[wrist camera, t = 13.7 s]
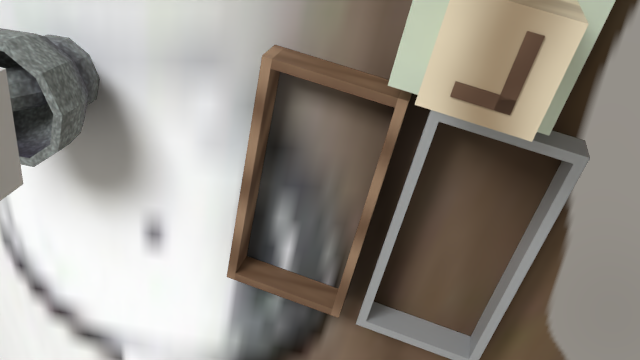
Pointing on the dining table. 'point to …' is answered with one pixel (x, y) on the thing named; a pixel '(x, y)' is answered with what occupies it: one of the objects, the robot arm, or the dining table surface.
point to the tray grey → (471, 348)
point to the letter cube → (501, 61)
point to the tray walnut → (239, 262)
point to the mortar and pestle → (46, 91)
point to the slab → (424, 32)
